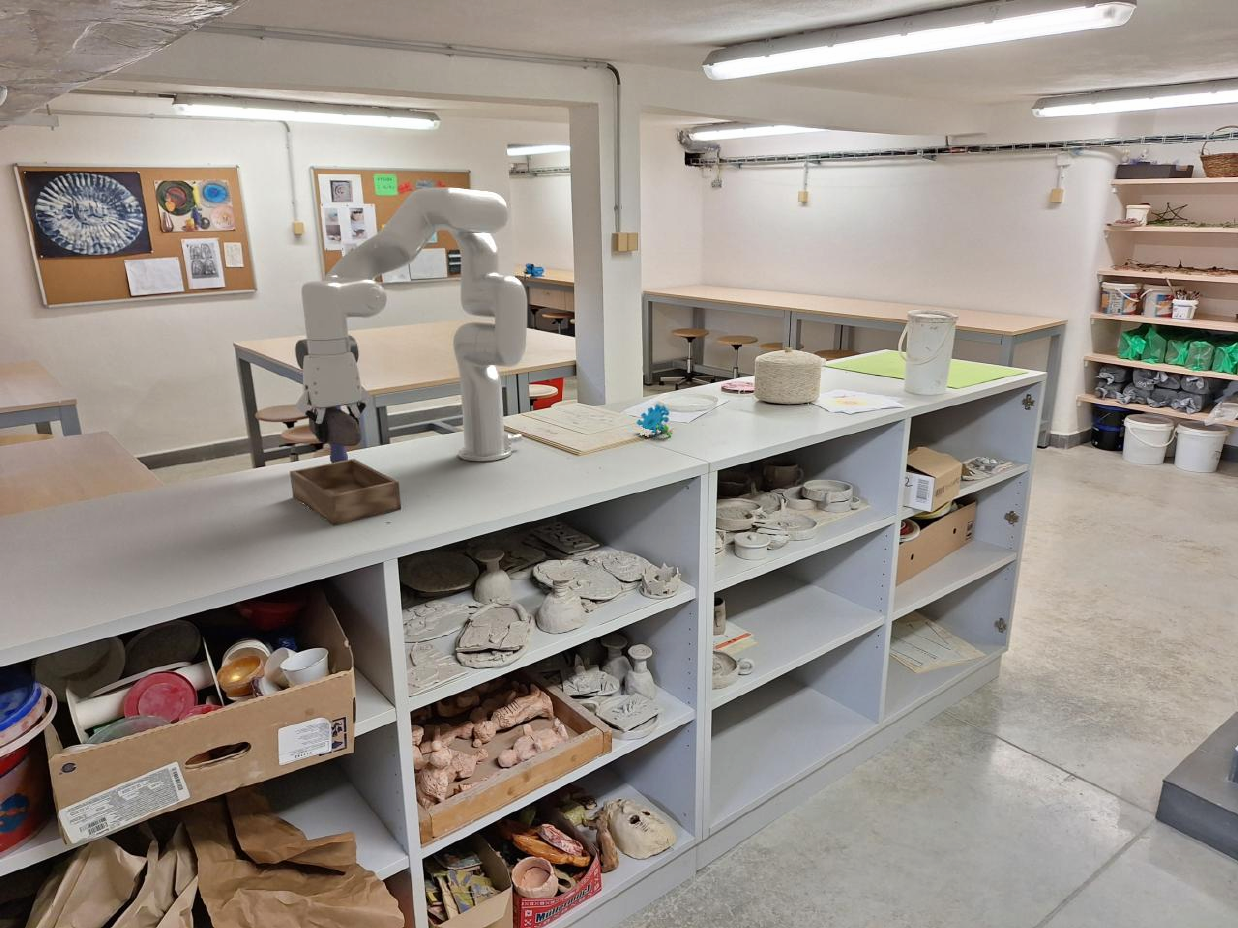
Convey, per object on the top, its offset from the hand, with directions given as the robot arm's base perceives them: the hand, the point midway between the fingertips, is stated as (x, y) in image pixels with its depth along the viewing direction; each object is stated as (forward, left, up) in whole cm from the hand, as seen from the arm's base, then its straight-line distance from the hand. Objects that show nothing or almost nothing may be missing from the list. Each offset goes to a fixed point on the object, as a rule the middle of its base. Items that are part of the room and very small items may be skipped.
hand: (338, 438), depth 164 cm
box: (0, 0, -13) cm, 13 cm away
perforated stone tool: (0, 0, -1) cm, 1 cm away
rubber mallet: (-10, -27, -14) cm, 32 cm away
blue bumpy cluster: (-82, +1, -14) cm, 83 cm away
